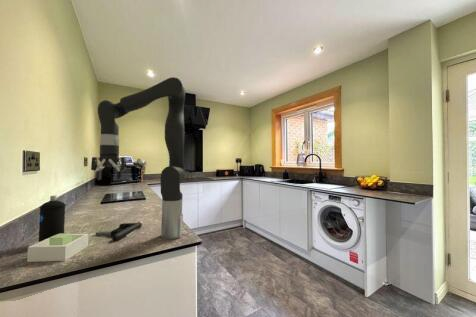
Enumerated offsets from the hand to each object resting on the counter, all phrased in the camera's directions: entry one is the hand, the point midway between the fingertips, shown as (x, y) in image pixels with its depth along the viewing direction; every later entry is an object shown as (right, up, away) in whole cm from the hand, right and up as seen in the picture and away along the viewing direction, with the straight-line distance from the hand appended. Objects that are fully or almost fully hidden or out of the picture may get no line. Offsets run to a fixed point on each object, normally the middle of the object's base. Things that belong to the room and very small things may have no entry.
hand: (109, 179), depth 90 cm
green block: (-7, -25, -17) cm, 31 cm away
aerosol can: (-19, -26, -9) cm, 33 cm away
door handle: (+1, -27, +5) cm, 28 cm away
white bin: (-7, -26, -17) cm, 32 cm away
